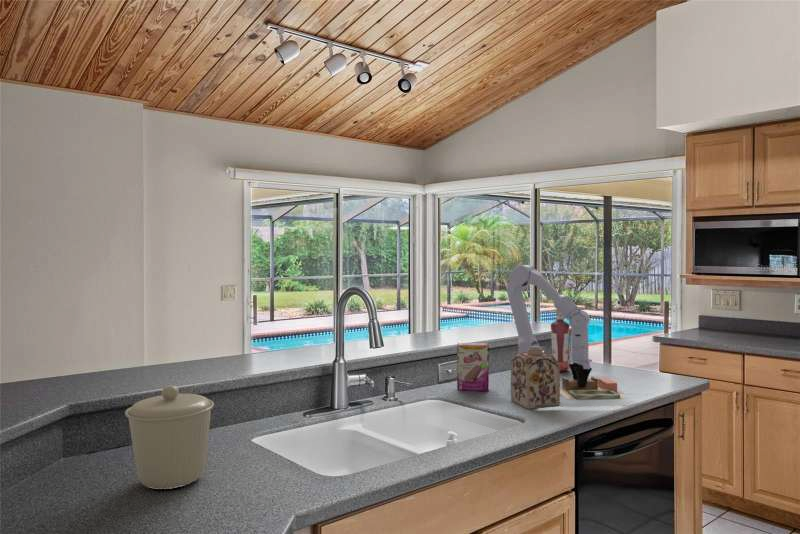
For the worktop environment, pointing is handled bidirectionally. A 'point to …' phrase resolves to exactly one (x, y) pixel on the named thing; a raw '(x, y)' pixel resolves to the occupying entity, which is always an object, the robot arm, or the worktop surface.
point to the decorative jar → (535, 379)
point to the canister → (170, 437)
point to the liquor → (560, 341)
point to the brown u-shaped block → (573, 384)
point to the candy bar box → (472, 367)
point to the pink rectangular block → (607, 384)
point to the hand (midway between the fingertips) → (579, 385)
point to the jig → (591, 394)
